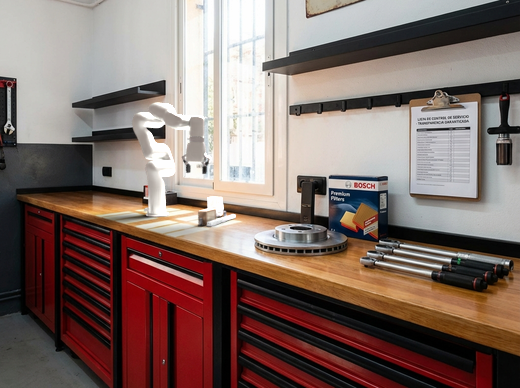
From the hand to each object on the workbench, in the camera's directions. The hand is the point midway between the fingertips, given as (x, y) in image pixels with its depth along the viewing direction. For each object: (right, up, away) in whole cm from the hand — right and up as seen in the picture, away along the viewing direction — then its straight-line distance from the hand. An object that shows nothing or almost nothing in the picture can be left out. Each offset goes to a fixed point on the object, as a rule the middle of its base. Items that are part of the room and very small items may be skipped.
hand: (196, 173), depth 213 cm
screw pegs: (+9, -25, 0) cm, 27 cm away
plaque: (+6, -26, -5) cm, 27 cm away
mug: (+9, -24, +19) cm, 31 cm away
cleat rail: (+14, -25, -1) cm, 29 cm away
